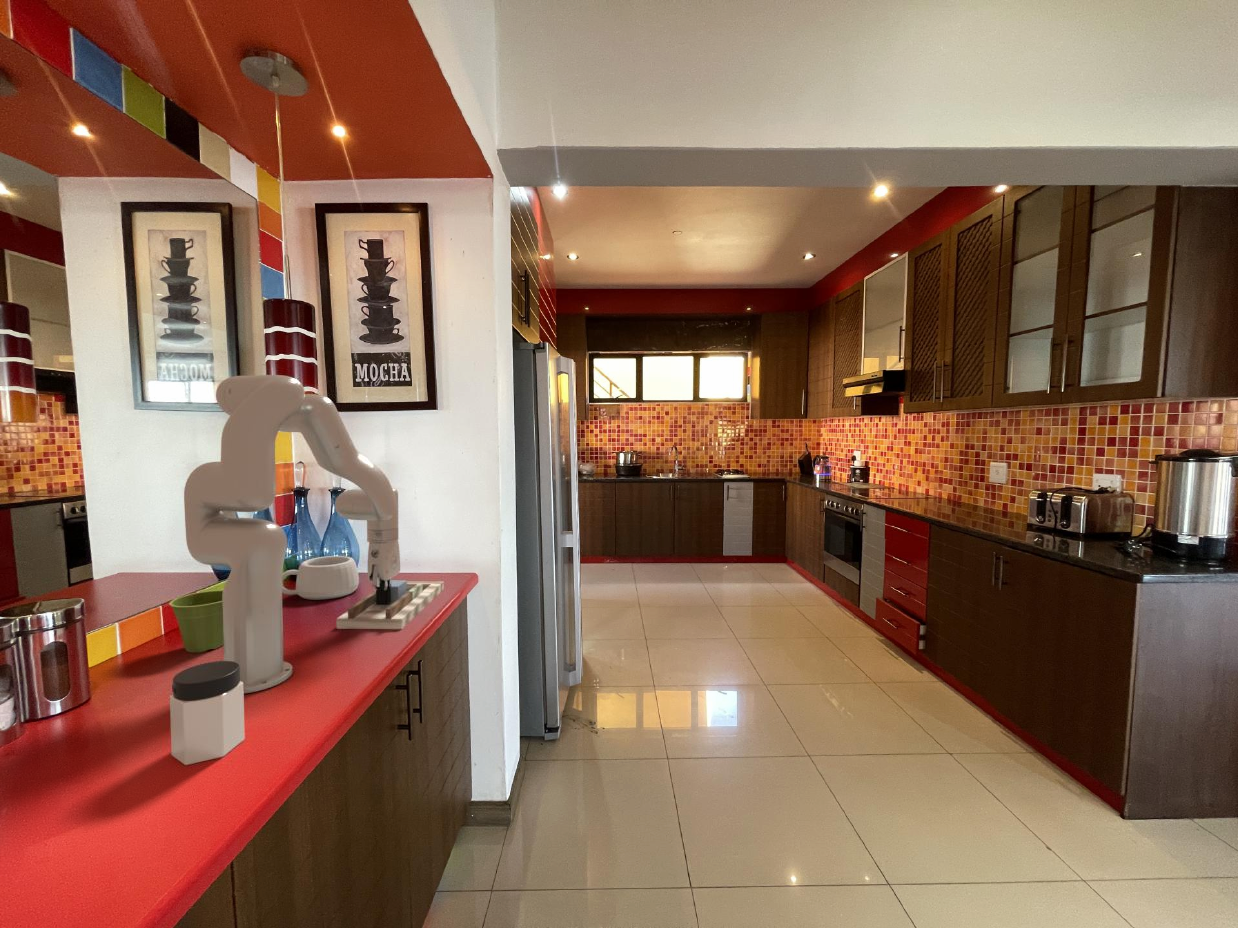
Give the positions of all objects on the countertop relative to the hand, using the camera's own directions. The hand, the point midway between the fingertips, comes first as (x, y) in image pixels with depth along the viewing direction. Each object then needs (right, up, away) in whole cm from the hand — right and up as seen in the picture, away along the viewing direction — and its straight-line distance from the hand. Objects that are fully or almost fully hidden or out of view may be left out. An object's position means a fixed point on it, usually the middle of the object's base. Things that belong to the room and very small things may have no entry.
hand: (383, 603), depth 140 cm
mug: (-27, -3, +19) cm, 33 cm away
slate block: (0, -1, +6) cm, 6 cm away
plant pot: (-31, -5, -21) cm, 37 cm away
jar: (-1, -7, -59) cm, 59 cm away
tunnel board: (0, -3, +9) cm, 9 cm away
